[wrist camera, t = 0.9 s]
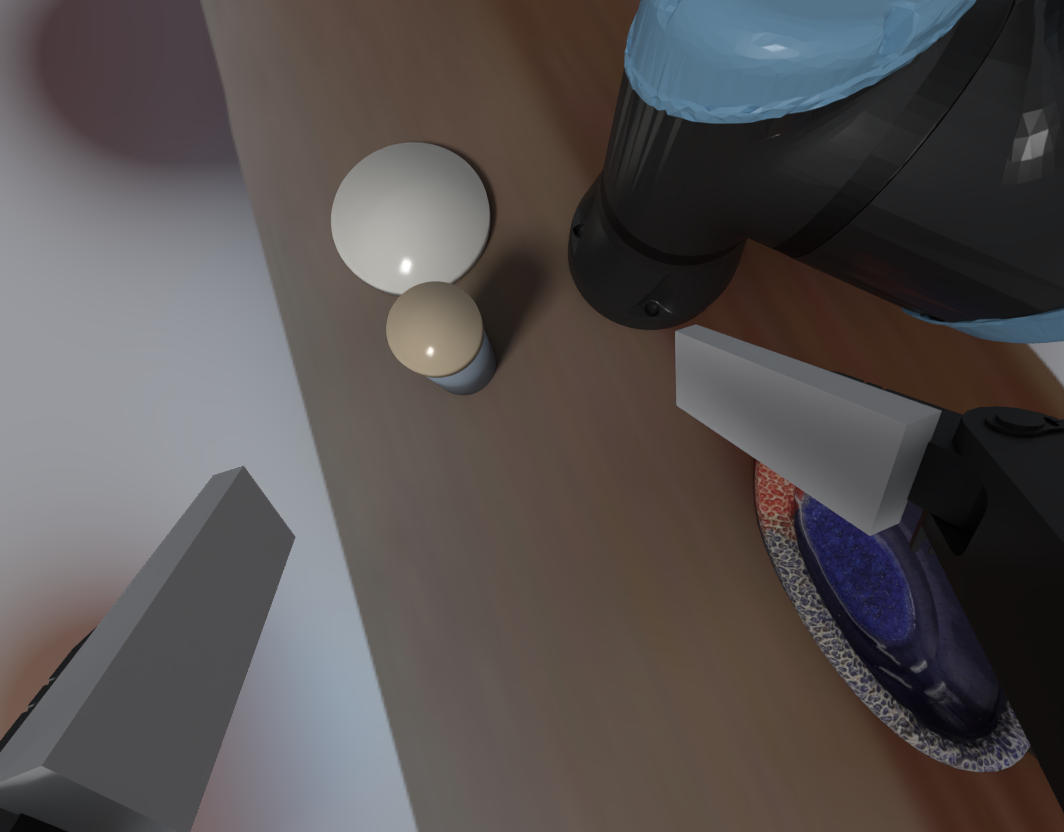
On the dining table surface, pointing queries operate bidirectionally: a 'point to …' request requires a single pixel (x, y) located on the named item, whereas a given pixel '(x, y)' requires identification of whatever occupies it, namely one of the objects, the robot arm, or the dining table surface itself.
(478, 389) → the jar
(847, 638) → the dish
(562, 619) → the dining table surface
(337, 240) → the plate
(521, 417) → the dining table surface
